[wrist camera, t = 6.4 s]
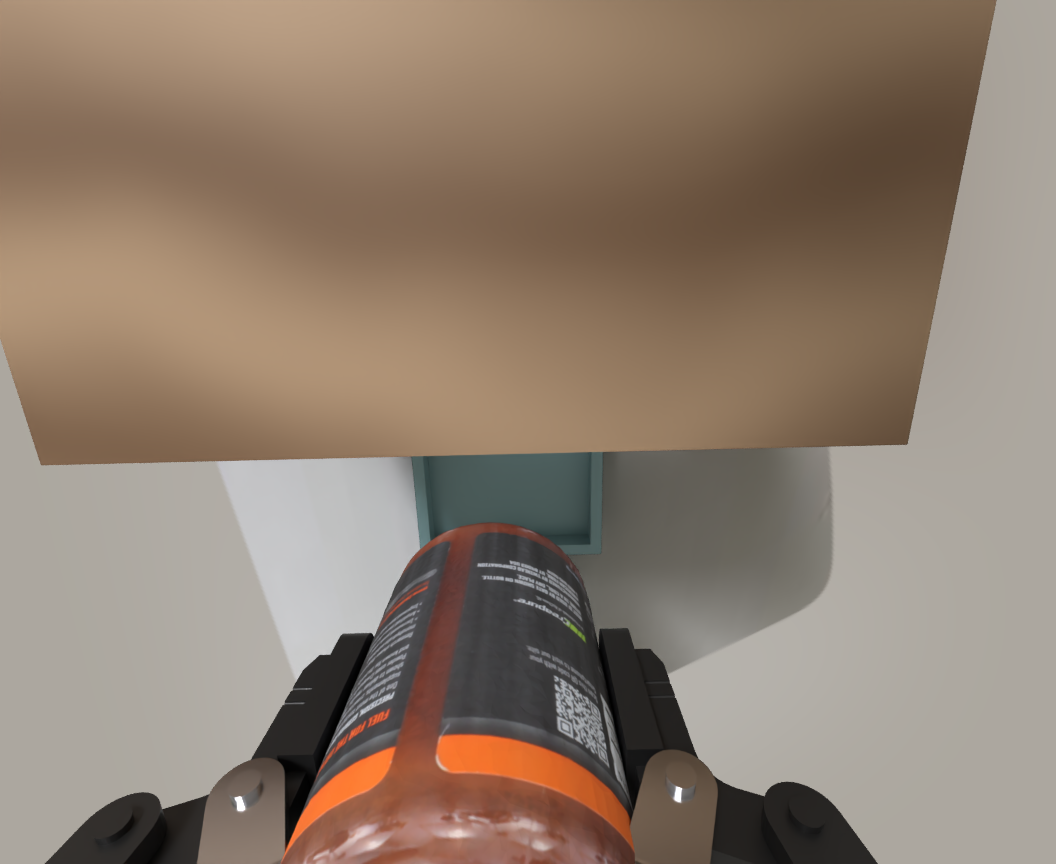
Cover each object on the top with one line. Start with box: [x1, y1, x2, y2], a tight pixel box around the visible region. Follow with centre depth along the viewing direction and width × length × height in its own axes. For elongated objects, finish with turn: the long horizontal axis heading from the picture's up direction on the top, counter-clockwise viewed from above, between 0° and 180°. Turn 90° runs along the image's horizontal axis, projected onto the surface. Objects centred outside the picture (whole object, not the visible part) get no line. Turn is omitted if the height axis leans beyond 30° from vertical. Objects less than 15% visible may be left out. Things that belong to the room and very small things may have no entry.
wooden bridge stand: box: [0, 0, 996, 465], centre depth 17 cm, size 11×19×17 cm, turn 91°
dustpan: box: [412, 452, 603, 555], centre depth 28 cm, size 19×10×5 cm, turn 1°
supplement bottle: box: [281, 522, 635, 864], centre depth 10 cm, size 6×6×11 cm
